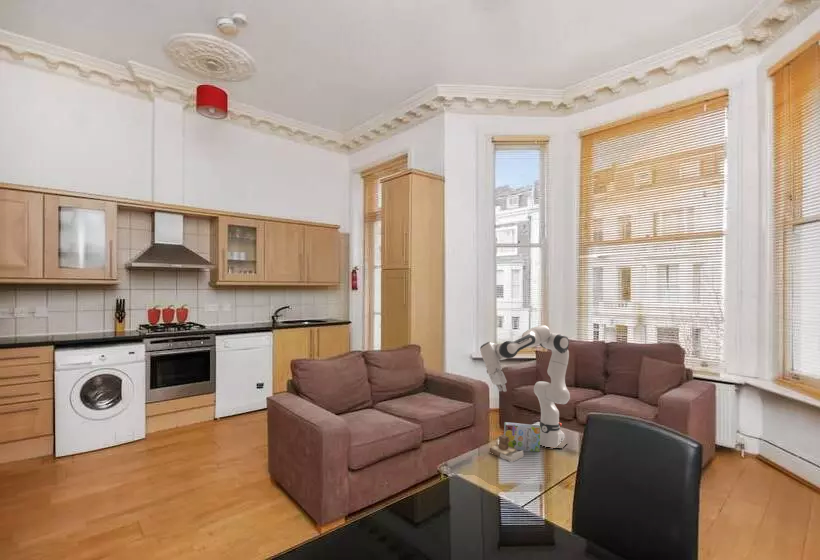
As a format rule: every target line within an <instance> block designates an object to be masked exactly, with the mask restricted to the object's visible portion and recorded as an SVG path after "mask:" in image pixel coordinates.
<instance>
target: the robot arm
mask: <svg viewBox="0 0 820 560" xmlns="http://www.w3.org/2000/svg"><path fill="white" fill-rule="evenodd" d="M536 346H540V347H542V348H543V349H546V350H549V351H550V350H551V356H550V359H549V363H548V367H547V371H546V372H547V374H548V376H549V377H550V382H548V381H542V380H541V381H536V383H535V384H534V386H533V393H534V394H535V396H536V397H537V399H538V402H539V406H540V421H539V426H540V428H541V430H540V445H542V446H541V447H543V446H545V447H544V448H546V447H557V446H558V445H559V444H560V443H561V442H562V441H563V440H564V438H565V439H566V435H565V433H564V432H563V431H562V430H561V427H562V423H561V422H560V411H559V409H558V408H557V406H556V404H559V405H566V404H568V402H569V401H570V400H571V393H570V391H569V389H568V387H567V385H566V374H567V369H568V365H569V359H570V351H569V347H570V340H569V338H568V336H566V335H565V334H562V333H557V332H551V329H550V328H549V327H548V326H547V325H545V324H543V325H542V324H541V325H537V326H534V327H531V328H529V329H527V330H526V331H525V332H523V333H522V335H521V337H520V338H518V339H516V340H506V341H503V342H502V343H494V342H491V341H487V342H485V343H483V344H482V345H481V346H480V348H479V351H480V355H481V357H482V360H483V362H484V364H485V365H484V366H485V368H486V373H487V374H488V377H489V379H490V381H491V383H492V384H493V385H495V386H496V388H497V389H498V392H504V393H506V392H507V390H508V389H507V387H506V384H507V383H508V380H507V378H506V375H505V374H504V371H503V367H502V364H501V362H500V361H502V360H506V359H512V358H514V357H516V356H517V354H518V353H519V352H520V351H521V350H524V349H526V348H533V347H536Z"/></svg>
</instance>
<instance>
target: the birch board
mask: <svg viewBox="0 0 820 560" xmlns="http://www.w3.org/2000/svg"><path fill="white" fill-rule="evenodd" d="M513 451H518V450H517V449H515V448H512V447H510V446H508V449H506V450H502V449H500V448H499V443H498V444H496V445H493V446H490V447H489V452H491V453H490V454H492V453H493V454H492V455H495V456H496V457H499V458H501V457H500V453H502V454H504V455H505V454H508V453H511V452H513Z"/></svg>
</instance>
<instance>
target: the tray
mask: <svg viewBox="0 0 820 560" xmlns="http://www.w3.org/2000/svg"><path fill="white" fill-rule="evenodd" d="M499 458H502V459H503V460H506V461H508V462H510V463H512V462H514V461H517V460H520V459H522V458H524V450H516V451H513V452H511V453H508V454H505V455H504V454H502V453H500V457H499Z"/></svg>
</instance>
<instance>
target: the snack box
mask: <svg viewBox="0 0 820 560" xmlns="http://www.w3.org/2000/svg"><path fill="white" fill-rule="evenodd" d="M503 425H504V426H503V427H504V429H503V435H505V436H507V437H509V443H508V446H510V447H512V448H515V449H517V450H516V451H522V450H523V452H524V451H527V452H534V453H535V452H536V453H539V452H540V450H541V449H540V447H541V446H540V430H541V428H540V424H528V423H517V422H509V421H508V422H507V421H504V424H503Z"/></svg>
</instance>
